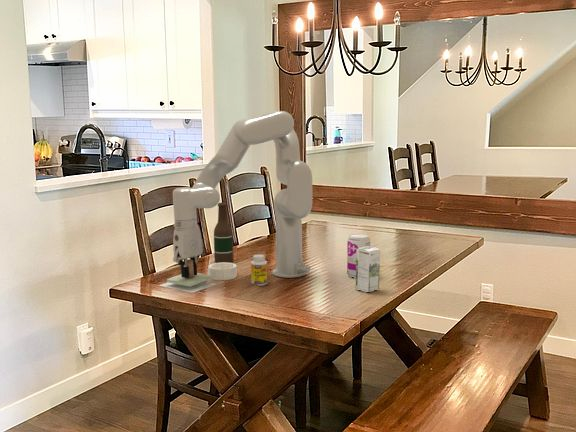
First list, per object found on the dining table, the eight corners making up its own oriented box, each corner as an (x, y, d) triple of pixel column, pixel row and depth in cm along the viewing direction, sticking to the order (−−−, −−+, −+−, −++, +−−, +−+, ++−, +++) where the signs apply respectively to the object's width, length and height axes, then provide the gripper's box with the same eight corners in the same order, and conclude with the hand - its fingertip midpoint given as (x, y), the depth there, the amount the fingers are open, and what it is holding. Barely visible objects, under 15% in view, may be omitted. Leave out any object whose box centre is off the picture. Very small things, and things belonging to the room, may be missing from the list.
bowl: (242, 276, 224) (241, 264, 223) (224, 283, 216) (223, 270, 215) (221, 272, 230) (221, 261, 229) (203, 279, 222) (202, 266, 221)
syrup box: (366, 286, 210) (366, 245, 208) (379, 290, 206) (380, 248, 204) (355, 290, 206) (355, 248, 204) (368, 293, 202) (369, 250, 200)
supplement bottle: (252, 286, 211) (252, 257, 210) (250, 282, 217) (249, 254, 215) (268, 285, 213) (268, 256, 211) (265, 281, 218) (265, 253, 216)
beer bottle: (230, 265, 242) (228, 204, 237) (211, 264, 243) (209, 204, 239) (236, 260, 249) (234, 201, 245) (217, 259, 251) (215, 201, 246)
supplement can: (355, 280, 218) (355, 239, 216) (343, 274, 226) (343, 234, 223) (374, 277, 222) (374, 236, 219) (361, 272, 229) (361, 232, 227)
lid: (212, 278, 214) (211, 258, 213) (190, 286, 205) (188, 266, 204) (189, 274, 220) (188, 255, 219) (166, 282, 211) (165, 262, 210)
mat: (216, 285, 213) (216, 284, 213) (192, 294, 203) (192, 292, 203) (183, 279, 222) (183, 277, 222) (158, 287, 212) (158, 285, 212)
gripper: (176, 229, 200) (180, 283, 204) (210, 220, 213) (213, 271, 217) (160, 227, 205) (164, 280, 208) (194, 218, 218) (197, 269, 221)
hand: (189, 275), depth 212 cm, fingers closed on lid, 3 cm apart
